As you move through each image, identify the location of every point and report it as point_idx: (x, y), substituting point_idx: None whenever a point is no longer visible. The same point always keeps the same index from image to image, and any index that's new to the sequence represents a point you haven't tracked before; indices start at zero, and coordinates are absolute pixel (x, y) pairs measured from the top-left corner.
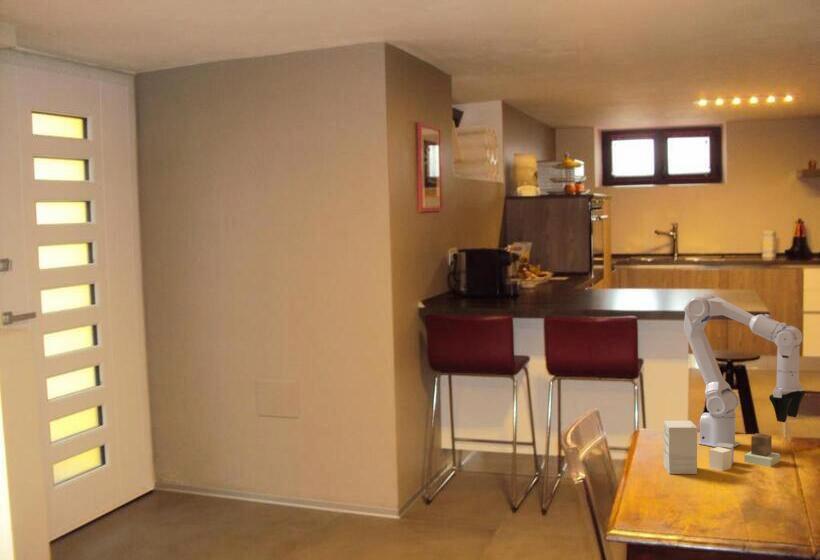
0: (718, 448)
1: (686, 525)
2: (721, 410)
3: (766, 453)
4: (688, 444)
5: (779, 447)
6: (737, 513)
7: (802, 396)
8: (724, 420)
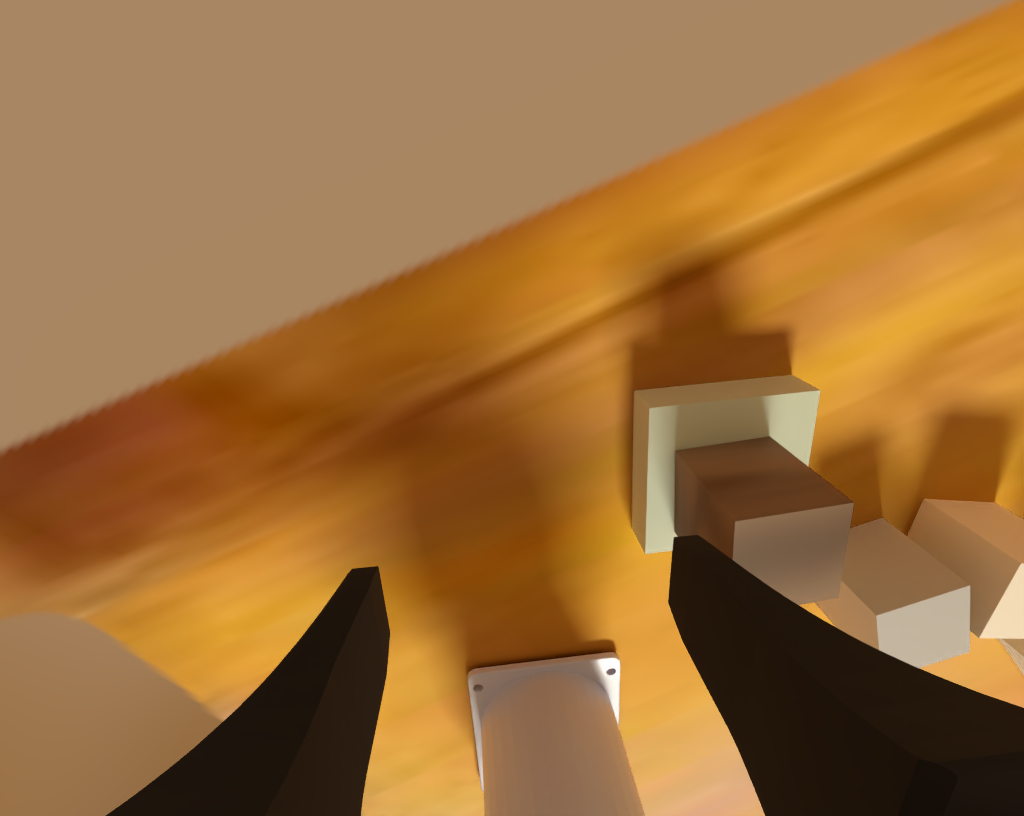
0: (1017, 620)
1: None
2: None
3: (779, 446)
4: None
5: (347, 523)
6: None
7: (200, 807)
8: None
